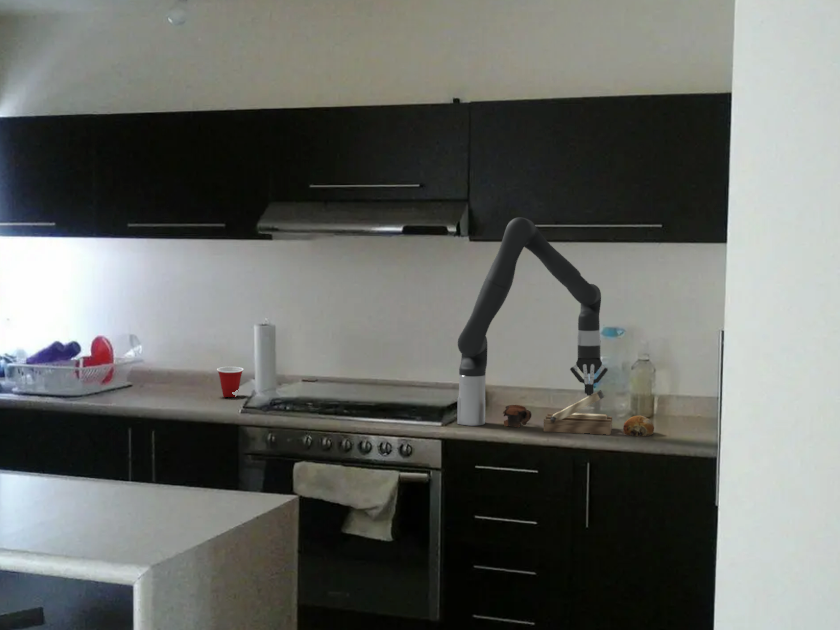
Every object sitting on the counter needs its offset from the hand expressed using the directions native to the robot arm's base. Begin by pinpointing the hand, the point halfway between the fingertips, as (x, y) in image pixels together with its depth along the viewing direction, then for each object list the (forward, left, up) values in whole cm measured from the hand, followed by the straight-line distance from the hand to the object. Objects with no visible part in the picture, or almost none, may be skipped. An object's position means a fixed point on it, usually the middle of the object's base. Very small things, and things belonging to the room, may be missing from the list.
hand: (589, 395), depth 307 cm
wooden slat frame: (-4, +3, -12) cm, 13 cm away
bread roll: (+16, +1, -13) cm, 21 cm away
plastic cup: (-149, +35, -13) cm, 153 cm away
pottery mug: (-25, +5, -13) cm, 28 cm away
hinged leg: (-4, 0, -5) cm, 6 cm away
